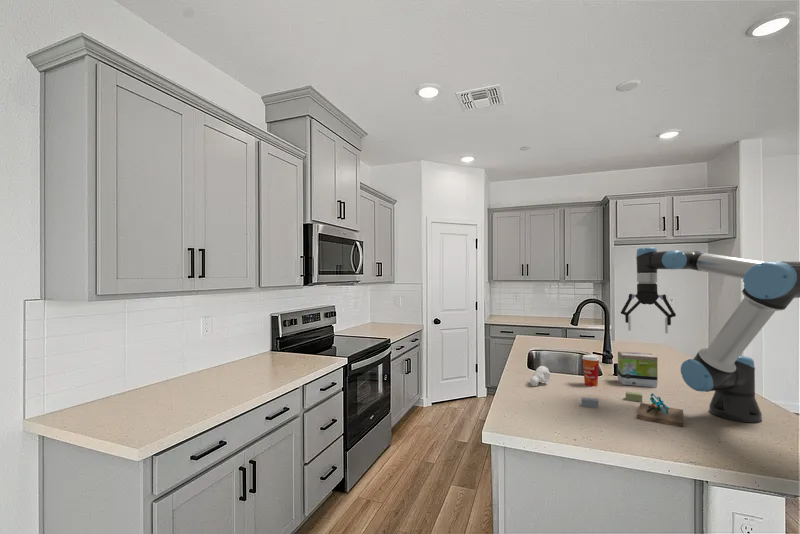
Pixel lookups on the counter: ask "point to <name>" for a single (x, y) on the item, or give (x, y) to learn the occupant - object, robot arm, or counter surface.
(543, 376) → the white lumpy piece
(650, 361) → the tea box
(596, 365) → the paper cup
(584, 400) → the slate grey block
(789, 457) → the counter surface
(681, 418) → the walnut board
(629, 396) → the olive block
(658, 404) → the stick construction toy
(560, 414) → the counter surface
